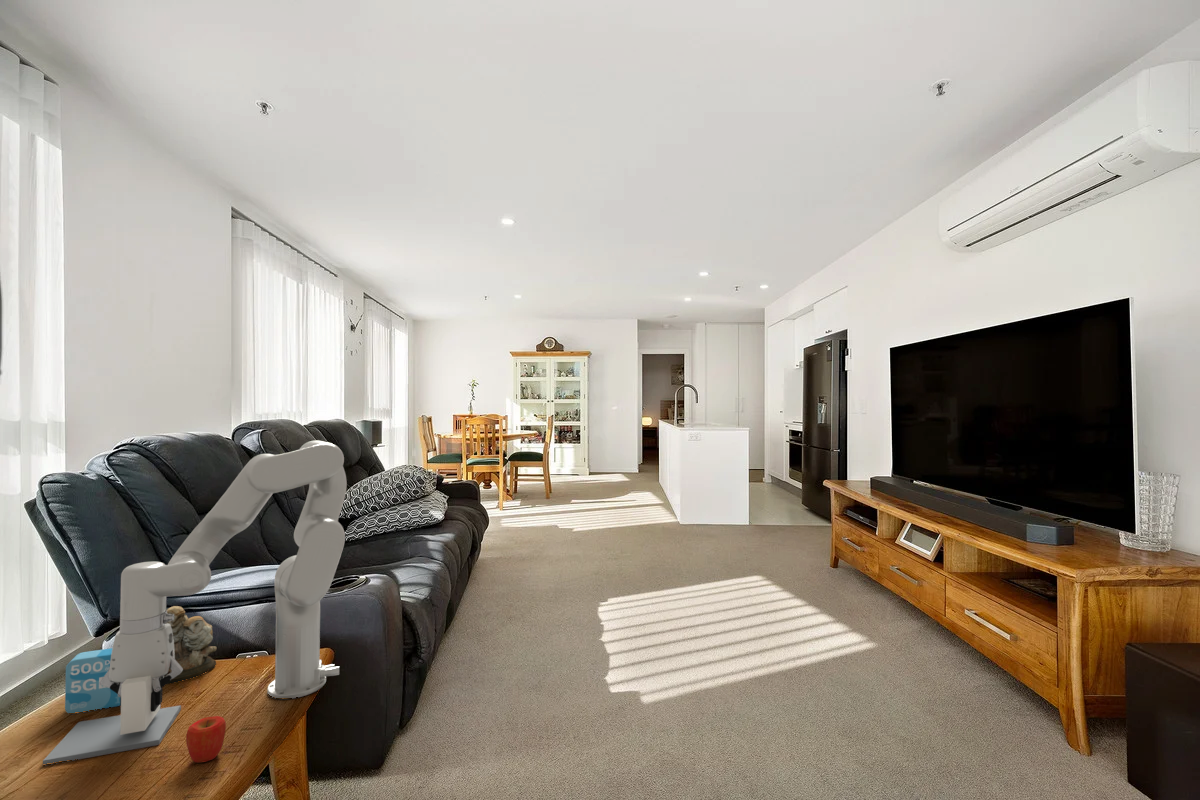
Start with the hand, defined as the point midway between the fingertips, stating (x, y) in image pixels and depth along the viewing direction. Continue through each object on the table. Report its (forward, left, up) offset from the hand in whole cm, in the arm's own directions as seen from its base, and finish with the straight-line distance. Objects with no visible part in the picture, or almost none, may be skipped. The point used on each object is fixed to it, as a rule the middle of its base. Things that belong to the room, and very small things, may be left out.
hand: (141, 709), depth 117 cm
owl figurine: (+2, -28, -5) cm, 28 cm away
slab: (0, 0, -2) cm, 2 cm away
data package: (+12, -16, -5) cm, 21 cm away
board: (+4, 0, -4) cm, 6 cm away
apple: (-15, +16, -5) cm, 22 cm away
